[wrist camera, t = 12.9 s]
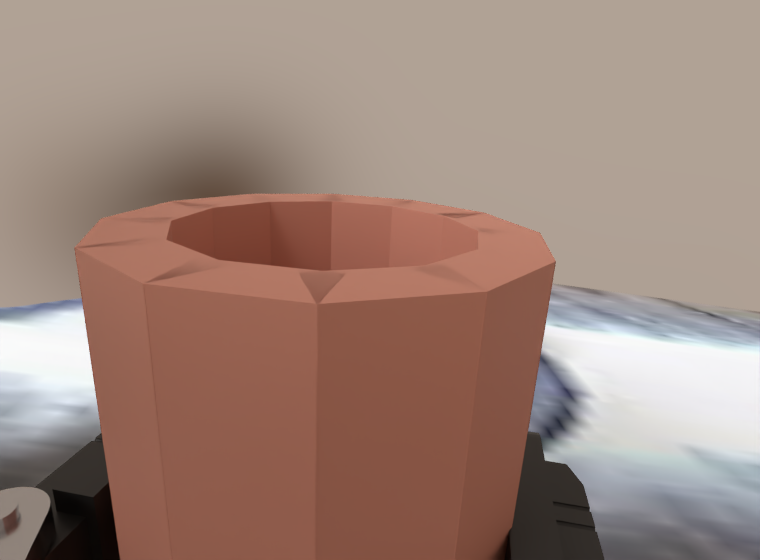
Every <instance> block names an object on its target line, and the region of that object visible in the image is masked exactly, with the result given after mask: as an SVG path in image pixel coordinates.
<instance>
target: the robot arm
mask: <svg viewBox="0 0 760 560" xmlns="http://www.w3.org/2000/svg"><path fill="white" fill-rule="evenodd" d="M589 509H590V507H589V503H588V500H587V496H586V493H585V489H584V486H583V484H582V483H581V482H580V480H579V479H578V478H577V477H576V476H575V474H574V473H573V472H572V471H571V469H570V468H569V467H568V466H567V464H561V463H555V462H549V461H545V459H544V454H543V449H542V443H541V438H540V435H539V433H535V432H528V433H527V439H526V445H525V452H524V458H523V464H522V470H521V476H520V482H519V488H518V494H517V500H516V506H515V512H514V518H513V524H512V528H511V529H510V530H509V536H508V542H507V548H506V554H505V560H604V556H603V553H602V549H601V546H600V542H599V539H598V535H597V532H595V525H594V521H593V518H592V514H591V512H590V511H589ZM0 560H120V555H119V548H118V542H117V535H116V528H115V521H114V514H113V508H112V501H111V494H110V487H109V480H108V473H107V467H106V460H105V453H104V446H103V439H102V433H101V434H100V435H98V436H97V437H96V439H95V441H91V442H90V443H89V444H87V445H86V446H85V447H84V448H82V449H81V450H80V451H79V452H78V453H76V454H75V455H74V456H73V457H71V458H70V459H69V460H68V461H67V462H65V463H64V464H63V465H62V466H60V467H59V468H58V469H57V470H56V471H54V472H53V473H52V474H51V475H49V476H48V477H47V478H46V479H45V480H43V481H42V482H41V483H40V484H38V485H37V486H36V487H35V488H33V487H15V488H9V489H5V490H1V491H0Z"/></svg>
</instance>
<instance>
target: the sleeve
mask: <svg viewBox="0 0 760 560" xmlns="http://www.w3.org/2000/svg"><path fill="white" fill-rule="evenodd" d="M75 255H76V262H77V268H78V275H79V282H80V289H81V296H82V303H83V309H84V316H85V323H86V330H87V337H88V344H89V350H90V357H91V364H92V371H93V378H94V385H95V391H96V398H97V405H98V412H99V419H100V426H101V432H102V439H103V446H104V453H105V460H106V467H107V473H108V480H109V487H110V494H111V501H112V508H113V514H114V521H115V528H116V535H117V542H118V548H119V555H120V560H505V554H506V548H507V542H508V536H509V530H510V529H511V528H512V524H513V518H514V512H515V506H516V500H517V494H518V488H519V482H520V476H521V470H522V464H523V458H524V452H525V445H526V439H527V433H528V427H529V421H530V415H531V409H532V403H533V397H534V391H535V385H536V379H537V373H538V367H539V361H540V355H541V348H542V342H543V336H544V330H545V324H546V318H547V312H548V306H549V300H550V294H551V288H552V282H553V275H554V269H555V263H556V261H555V259H554V257H553V256H552V254H551V252H550V250H549V248H548V247H547V245H546V243H545V241H544V239H543V237H542V235H541V234H540V233H539V232H536V231H533V230H530V229H527V228H525V227H522V226H519V225H517V224H514V223H511V222H508V221H505V220H503V219H500V218H497V217H494V216H492V215H489V214H486V213H482V212H477V211H471V210H465V209H459V208H454V207H449V206H443V205H437V204H431V203H425V202H420V201H414V200H404V199H392V198H379V197H366V196H353V195H340V194H245V195H235V196H224V197H212V198H201V199H191V200H179V201H170V202H165V203H161V204H157V205H153V206H149V207H145V208H141V209H137V210H133V211H129V212H125V213H121V214H117V215H113V216H109V217H105V218H101V219H100V220H99V221H98V222H97V224H96V225H95V226H94V227H93V228H92V229H91V230H90V231H89V232H88V233H87V235H86V236H85V237H84V238H83V239H82V240H81V241H80V242H79V244H77V246H76V247H75Z"/></svg>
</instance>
